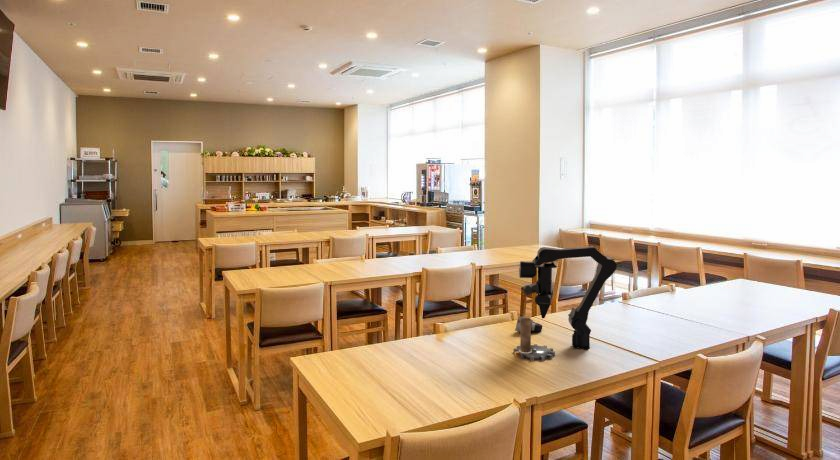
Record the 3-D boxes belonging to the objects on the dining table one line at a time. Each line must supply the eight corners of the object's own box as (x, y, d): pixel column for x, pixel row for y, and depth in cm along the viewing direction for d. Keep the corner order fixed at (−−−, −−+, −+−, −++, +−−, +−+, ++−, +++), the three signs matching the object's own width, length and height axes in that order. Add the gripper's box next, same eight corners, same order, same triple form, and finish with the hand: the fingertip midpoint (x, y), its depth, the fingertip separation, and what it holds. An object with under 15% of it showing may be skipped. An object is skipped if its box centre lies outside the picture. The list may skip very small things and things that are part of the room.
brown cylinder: (529, 348, 212) (529, 317, 211) (531, 352, 209) (531, 319, 207) (519, 349, 212) (519, 317, 211) (521, 352, 208) (521, 320, 207)
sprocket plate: (555, 349, 217) (556, 344, 216) (553, 362, 201) (553, 357, 201) (516, 346, 221) (516, 341, 221) (511, 359, 206) (511, 354, 206)
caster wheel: (540, 334, 246) (539, 337, 236) (516, 327, 249) (514, 330, 239) (543, 320, 246) (543, 322, 236) (519, 313, 248) (518, 316, 239)
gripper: (526, 273, 229) (526, 308, 231) (522, 281, 211) (521, 319, 213) (553, 274, 226) (552, 310, 227) (551, 283, 208) (550, 321, 210)
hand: (543, 315), depth 219 cm, fingers open, 9 cm apart
